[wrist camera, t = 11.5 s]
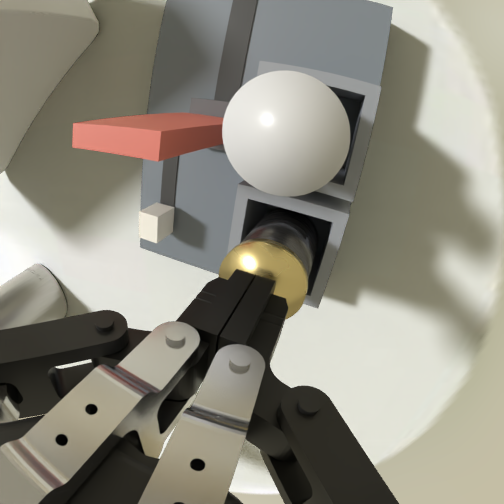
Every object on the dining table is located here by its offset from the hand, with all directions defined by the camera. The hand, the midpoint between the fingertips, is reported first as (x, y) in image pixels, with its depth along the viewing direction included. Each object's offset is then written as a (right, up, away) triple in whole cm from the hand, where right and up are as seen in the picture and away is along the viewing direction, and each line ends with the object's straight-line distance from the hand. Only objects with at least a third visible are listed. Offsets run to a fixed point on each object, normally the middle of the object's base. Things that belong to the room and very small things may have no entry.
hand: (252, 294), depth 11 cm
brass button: (+2, +2, +5) cm, 6 cm away
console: (0, +10, +9) cm, 14 cm away
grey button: (+2, +7, +1) cm, 7 cm away
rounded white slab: (-26, +20, +14) cm, 36 cm away
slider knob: (-6, +4, +11) cm, 13 cm away
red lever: (-2, +10, +7) cm, 12 cm away
